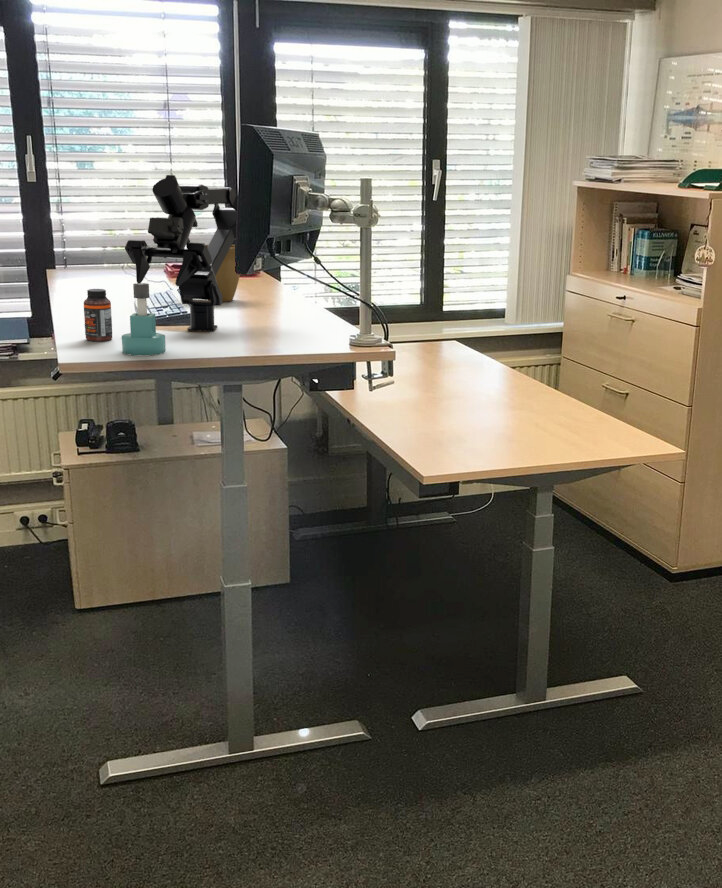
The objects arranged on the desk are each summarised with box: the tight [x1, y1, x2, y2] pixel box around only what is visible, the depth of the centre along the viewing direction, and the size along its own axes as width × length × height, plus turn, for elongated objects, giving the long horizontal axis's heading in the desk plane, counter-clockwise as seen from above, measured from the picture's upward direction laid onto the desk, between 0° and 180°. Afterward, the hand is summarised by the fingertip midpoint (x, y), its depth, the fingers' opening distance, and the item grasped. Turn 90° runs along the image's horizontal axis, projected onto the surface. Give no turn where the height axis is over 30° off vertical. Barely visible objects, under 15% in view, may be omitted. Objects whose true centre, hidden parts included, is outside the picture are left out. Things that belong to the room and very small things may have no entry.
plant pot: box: [205, 244, 241, 303], centre depth 273 cm, size 15×15×16 cm
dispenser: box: [121, 312, 167, 356], centre depth 196 cm, size 9×9×8 cm
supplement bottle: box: [83, 288, 113, 342], centre depth 208 cm, size 6×6×11 cm
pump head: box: [132, 282, 150, 316], centre depth 194 cm, size 3×3×8 cm
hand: (157, 283), depth 200 cm, fingers open, 9 cm apart
